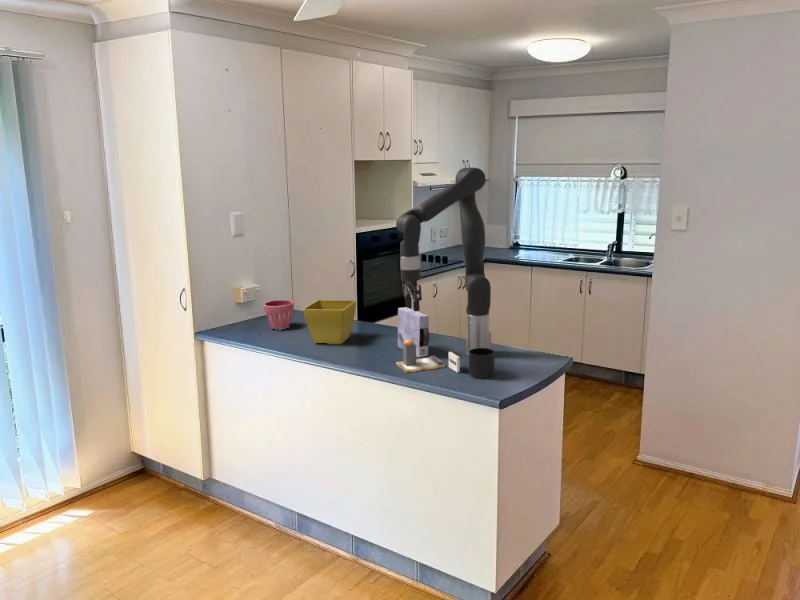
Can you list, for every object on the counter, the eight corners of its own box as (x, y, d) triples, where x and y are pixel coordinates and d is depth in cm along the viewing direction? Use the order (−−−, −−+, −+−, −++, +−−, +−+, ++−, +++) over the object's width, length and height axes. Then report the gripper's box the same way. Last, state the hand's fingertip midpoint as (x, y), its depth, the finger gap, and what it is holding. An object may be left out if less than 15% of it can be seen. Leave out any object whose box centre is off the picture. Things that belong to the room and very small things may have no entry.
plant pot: (276, 333, 309) (274, 307, 306) (259, 328, 319) (257, 303, 316) (300, 327, 319) (299, 301, 316) (283, 323, 329) (281, 298, 326)
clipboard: (433, 358, 263) (433, 354, 262) (445, 367, 252) (445, 362, 251) (396, 364, 258) (395, 359, 257) (406, 372, 246) (406, 368, 246)
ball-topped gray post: (412, 361, 256) (412, 338, 254) (416, 364, 253) (415, 340, 251) (403, 363, 255) (402, 339, 253) (406, 366, 251) (406, 342, 249)
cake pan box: (430, 356, 266) (430, 314, 262) (420, 359, 263) (419, 316, 259) (407, 346, 282) (406, 306, 278) (397, 348, 279) (395, 308, 276)
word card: (451, 366, 252) (450, 351, 251) (459, 372, 245) (459, 357, 244) (448, 366, 252) (448, 352, 251) (457, 372, 245) (456, 357, 243)
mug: (503, 371, 244) (503, 348, 242) (485, 380, 235) (485, 356, 233) (481, 367, 250) (481, 344, 248) (464, 375, 241) (463, 352, 239)
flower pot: (304, 345, 288) (302, 308, 284) (319, 334, 306) (317, 299, 302) (345, 347, 283) (343, 309, 279) (358, 335, 301) (356, 300, 297)
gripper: (426, 269, 242) (428, 311, 245) (412, 264, 255) (414, 304, 258) (407, 271, 239) (410, 313, 243) (394, 266, 253) (397, 306, 256)
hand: (412, 308), depth 251 cm, fingers open, 8 cm apart
